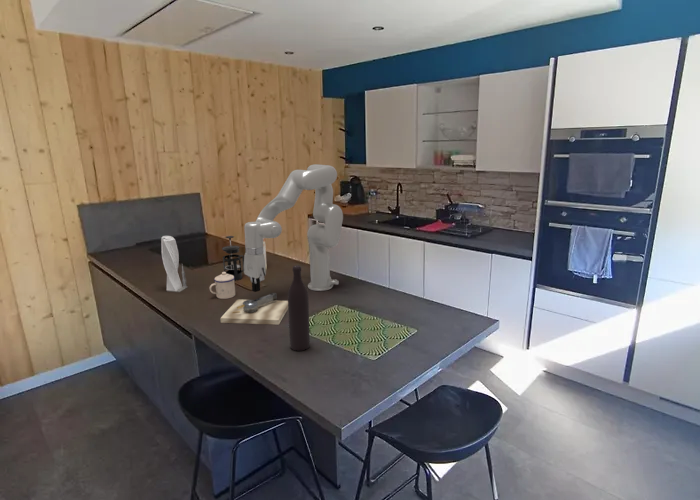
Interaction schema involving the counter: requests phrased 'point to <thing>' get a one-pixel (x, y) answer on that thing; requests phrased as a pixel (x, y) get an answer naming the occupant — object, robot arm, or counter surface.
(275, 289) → the counter surface
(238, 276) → the french press
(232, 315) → the wooden cutting board
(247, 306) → the lever
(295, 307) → the wine bottle
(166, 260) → the skyscraper
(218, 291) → the teacup with lid
